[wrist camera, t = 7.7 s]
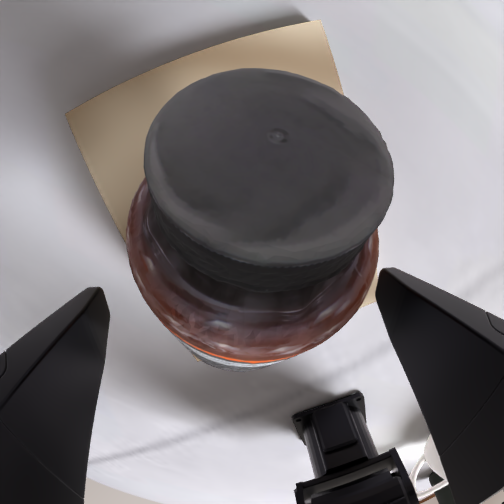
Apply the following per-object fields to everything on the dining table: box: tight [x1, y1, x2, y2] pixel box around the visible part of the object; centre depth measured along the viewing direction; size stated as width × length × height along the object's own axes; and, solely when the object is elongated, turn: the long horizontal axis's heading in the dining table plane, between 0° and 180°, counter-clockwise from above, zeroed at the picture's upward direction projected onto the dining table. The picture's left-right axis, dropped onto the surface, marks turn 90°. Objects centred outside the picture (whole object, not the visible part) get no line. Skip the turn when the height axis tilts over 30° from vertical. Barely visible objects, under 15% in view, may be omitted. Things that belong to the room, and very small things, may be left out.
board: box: [65, 20, 378, 362], centre depth 16 cm, size 16×12×1 cm
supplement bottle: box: [126, 68, 394, 372], centre depth 10 cm, size 6×6×11 cm
